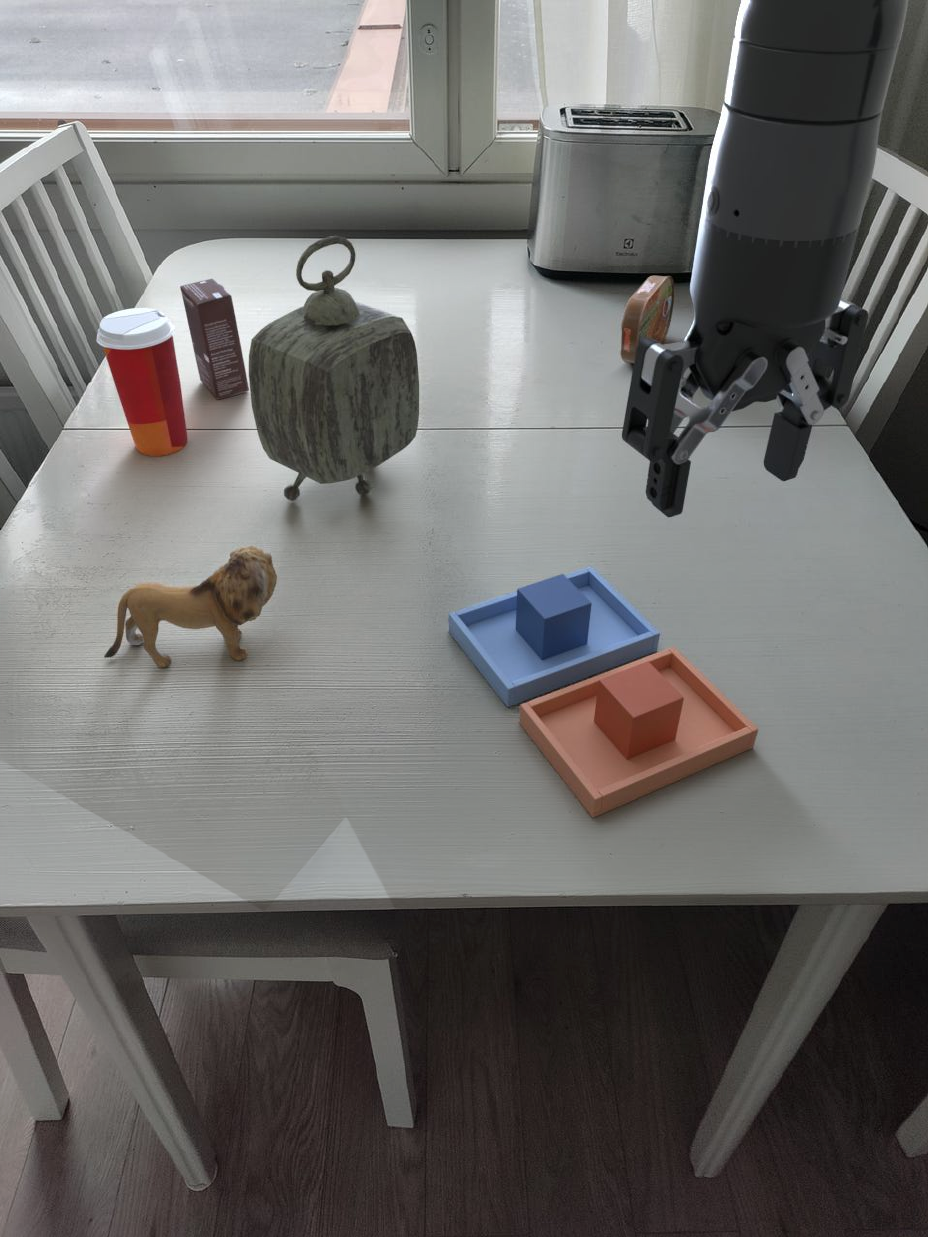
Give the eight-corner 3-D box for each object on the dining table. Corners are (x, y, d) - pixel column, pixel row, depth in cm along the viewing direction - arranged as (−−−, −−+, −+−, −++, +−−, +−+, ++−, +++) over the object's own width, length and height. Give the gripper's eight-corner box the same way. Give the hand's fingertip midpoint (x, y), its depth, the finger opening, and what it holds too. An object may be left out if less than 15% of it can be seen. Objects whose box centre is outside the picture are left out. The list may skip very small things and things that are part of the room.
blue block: (559, 613, 82) (562, 573, 79) (587, 644, 79) (592, 602, 76) (515, 629, 81) (516, 588, 78) (541, 660, 78) (544, 619, 75)
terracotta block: (641, 702, 74) (648, 660, 71) (675, 739, 71) (684, 697, 68) (593, 721, 72) (598, 679, 70) (626, 760, 69) (633, 718, 67)
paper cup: (179, 419, 110) (152, 299, 101) (209, 445, 105) (185, 322, 96) (113, 440, 106) (80, 318, 97) (142, 469, 101) (110, 343, 92)
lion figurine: (283, 614, 83) (269, 528, 77) (289, 654, 79) (275, 567, 73) (106, 642, 80) (78, 555, 74) (104, 685, 76) (75, 597, 70)
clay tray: (670, 664, 78) (673, 646, 77) (753, 747, 71) (759, 728, 70) (519, 722, 73) (519, 704, 72) (592, 818, 66) (595, 799, 65)
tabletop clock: (367, 445, 105) (349, 208, 89) (429, 473, 100) (422, 229, 84) (266, 502, 96) (227, 250, 80) (329, 535, 92) (301, 276, 76)
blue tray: (589, 583, 86) (591, 566, 85) (657, 651, 79) (660, 633, 78) (448, 631, 81) (448, 613, 80) (507, 707, 74) (508, 689, 73)
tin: (636, 376, 118) (644, 309, 112) (612, 371, 119) (619, 305, 113) (672, 330, 128) (681, 267, 123) (649, 326, 129) (657, 263, 124)
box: (197, 382, 117) (178, 284, 109) (232, 373, 119) (216, 276, 111) (214, 401, 113) (196, 302, 105) (250, 392, 115) (235, 293, 107)
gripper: (713, 256, 42) (664, 557, 52) (946, 208, 47) (858, 491, 57) (615, 208, 47) (588, 491, 57) (835, 169, 52) (773, 436, 62)
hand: (723, 491), depth 57 cm, fingers open, 8 cm apart
